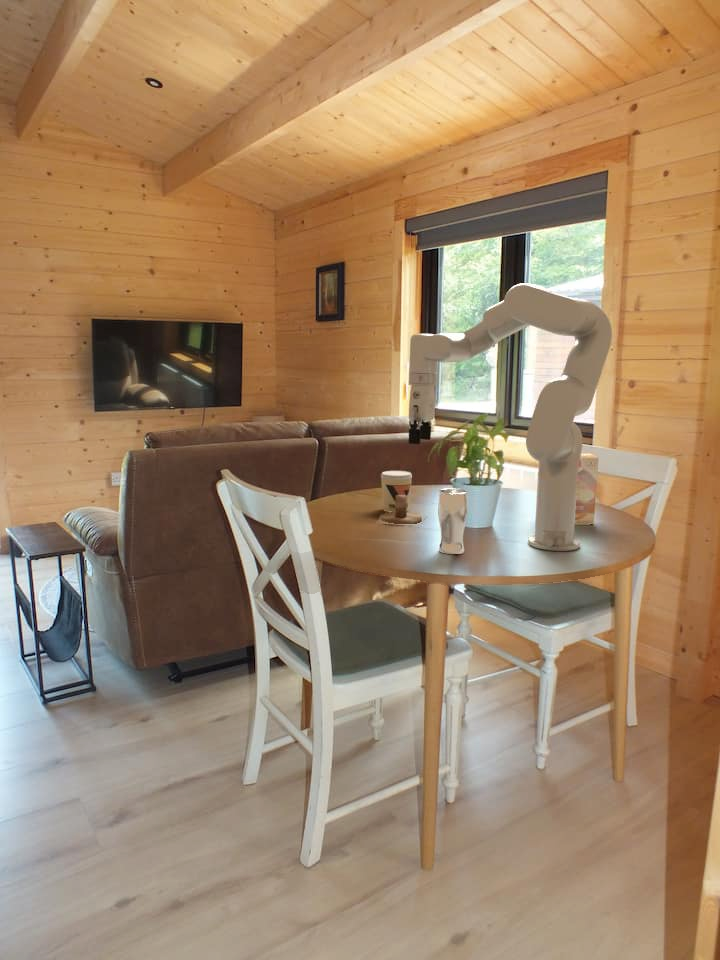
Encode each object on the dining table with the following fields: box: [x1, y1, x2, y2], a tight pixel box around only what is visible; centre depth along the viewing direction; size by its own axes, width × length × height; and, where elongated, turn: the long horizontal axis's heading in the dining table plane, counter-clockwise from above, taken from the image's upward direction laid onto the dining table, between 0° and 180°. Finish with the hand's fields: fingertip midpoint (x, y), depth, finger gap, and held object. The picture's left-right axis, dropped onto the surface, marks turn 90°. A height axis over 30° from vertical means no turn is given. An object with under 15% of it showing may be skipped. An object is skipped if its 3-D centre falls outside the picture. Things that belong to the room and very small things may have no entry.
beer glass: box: [437, 488, 468, 555], centre depth 171 cm, size 7×7×15 cm
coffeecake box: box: [538, 453, 599, 526], centre depth 201 cm, size 15×7×20 cm, turn 91°
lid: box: [379, 495, 423, 524], centre depth 201 cm, size 12×12×7 cm
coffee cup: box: [380, 470, 413, 512], centre depth 213 cm, size 9×9×12 cm
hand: (419, 441), depth 198 cm, fingers open, 9 cm apart
